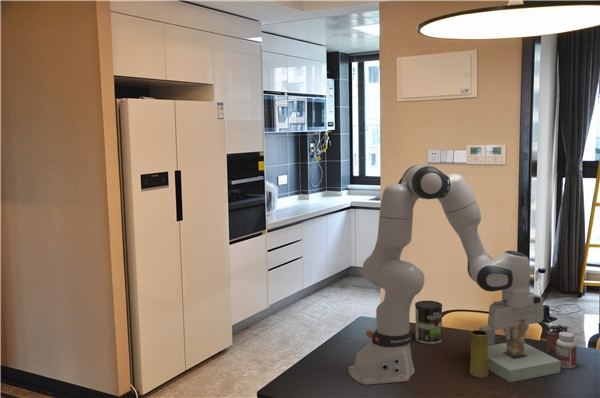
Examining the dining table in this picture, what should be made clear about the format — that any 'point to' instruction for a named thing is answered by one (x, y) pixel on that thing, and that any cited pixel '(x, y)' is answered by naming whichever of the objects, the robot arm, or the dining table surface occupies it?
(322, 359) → the dining table surface
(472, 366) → the vase
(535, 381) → the dining table surface
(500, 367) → the socket plate
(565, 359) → the pill bottle
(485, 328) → the short peg
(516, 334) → the long peg
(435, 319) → the coffee can
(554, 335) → the lighter
